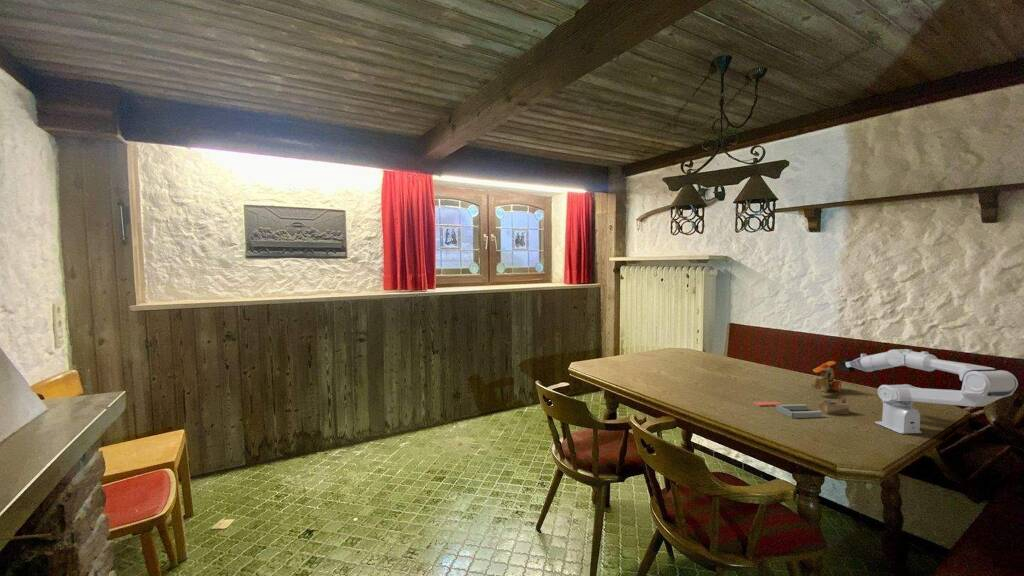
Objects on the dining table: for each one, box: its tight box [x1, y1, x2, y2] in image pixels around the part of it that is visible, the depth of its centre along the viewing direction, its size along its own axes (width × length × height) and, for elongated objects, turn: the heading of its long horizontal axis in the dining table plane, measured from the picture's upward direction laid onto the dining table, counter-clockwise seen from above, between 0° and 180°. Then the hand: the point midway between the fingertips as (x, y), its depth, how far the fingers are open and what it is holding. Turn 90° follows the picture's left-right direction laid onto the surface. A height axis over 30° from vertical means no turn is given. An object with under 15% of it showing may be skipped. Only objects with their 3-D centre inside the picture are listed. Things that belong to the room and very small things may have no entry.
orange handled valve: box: [810, 360, 842, 393], centre depth 181 cm, size 8×21×14 cm, turn 123°
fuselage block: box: [818, 398, 850, 416], centre depth 158 cm, size 4×9×6 cm, turn 93°
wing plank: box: [753, 400, 783, 407], centre depth 167 cm, size 10×4×1 cm, turn 93°
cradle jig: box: [775, 403, 823, 419], centre depth 157 cm, size 8×12×2 cm
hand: (847, 367), depth 163 cm, fingers open, 7 cm apart
